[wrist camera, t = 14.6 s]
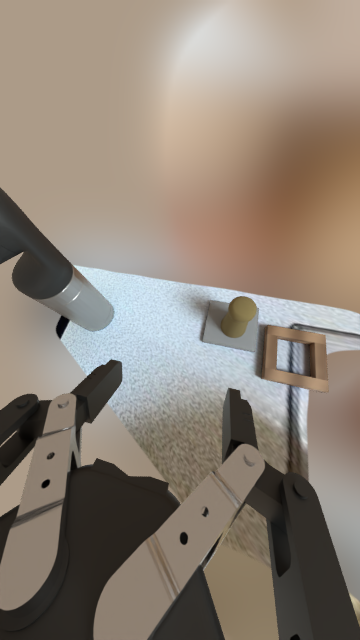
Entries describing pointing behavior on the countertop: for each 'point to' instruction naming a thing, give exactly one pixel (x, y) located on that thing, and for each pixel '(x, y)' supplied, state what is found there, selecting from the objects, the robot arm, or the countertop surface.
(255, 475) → the robot arm
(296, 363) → the countertop surface
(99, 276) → the countertop surface
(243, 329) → the cork
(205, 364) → the countertop surface
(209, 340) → the slate pad
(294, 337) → the walnut socket
